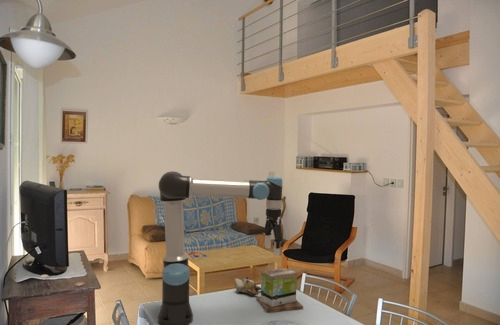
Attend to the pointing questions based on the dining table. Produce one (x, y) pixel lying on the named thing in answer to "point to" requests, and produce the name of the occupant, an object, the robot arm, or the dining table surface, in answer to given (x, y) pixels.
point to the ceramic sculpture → (246, 286)
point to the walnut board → (280, 306)
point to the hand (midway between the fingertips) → (272, 251)
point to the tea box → (278, 287)
